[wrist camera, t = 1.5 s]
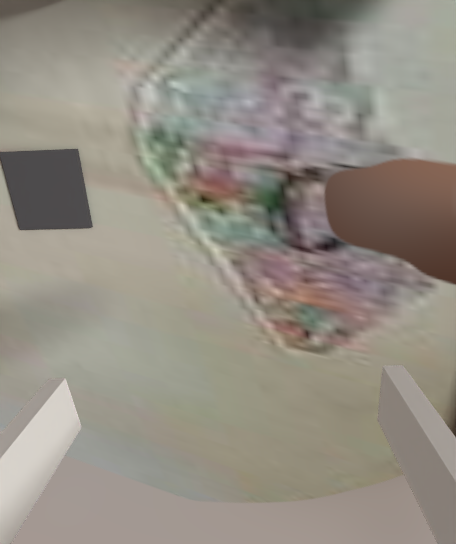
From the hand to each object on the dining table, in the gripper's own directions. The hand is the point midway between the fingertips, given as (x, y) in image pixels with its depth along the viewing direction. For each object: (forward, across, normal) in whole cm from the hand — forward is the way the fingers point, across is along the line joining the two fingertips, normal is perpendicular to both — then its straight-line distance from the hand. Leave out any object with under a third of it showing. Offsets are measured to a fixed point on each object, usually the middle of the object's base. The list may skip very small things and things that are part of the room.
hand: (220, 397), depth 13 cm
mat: (+27, -22, +7) cm, 36 cm away
